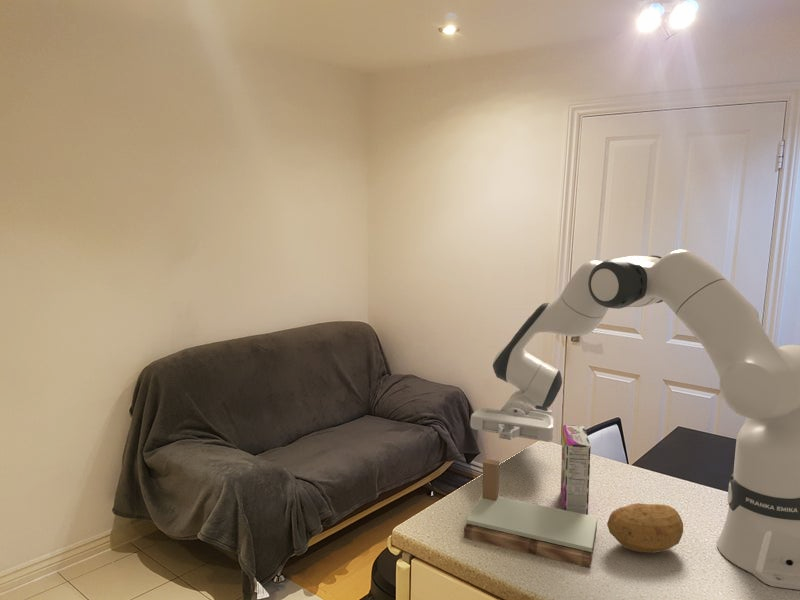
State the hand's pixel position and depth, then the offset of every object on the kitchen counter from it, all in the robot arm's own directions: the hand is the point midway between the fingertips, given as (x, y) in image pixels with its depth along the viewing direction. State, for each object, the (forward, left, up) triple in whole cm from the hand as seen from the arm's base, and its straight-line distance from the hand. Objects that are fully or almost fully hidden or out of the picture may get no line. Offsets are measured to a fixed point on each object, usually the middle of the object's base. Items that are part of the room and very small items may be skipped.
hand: (505, 436), depth 128 cm
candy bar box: (-16, +5, -12) cm, 21 cm away
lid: (-10, +19, -9) cm, 23 cm away
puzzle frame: (-10, +19, -11) cm, 25 cm away
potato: (-30, +15, -12) cm, 36 cm away
